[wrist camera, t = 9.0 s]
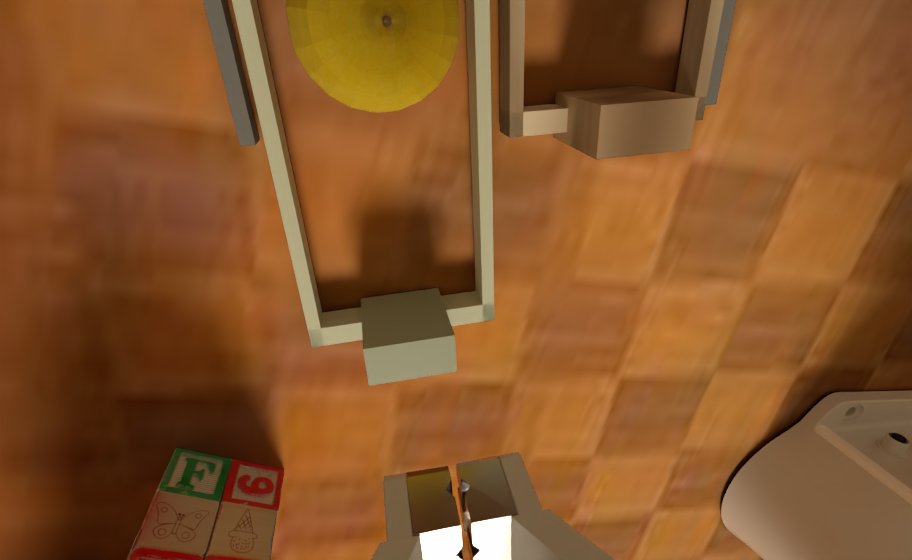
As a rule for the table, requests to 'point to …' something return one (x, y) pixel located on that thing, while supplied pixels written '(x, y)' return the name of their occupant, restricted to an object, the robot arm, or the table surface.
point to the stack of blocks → (210, 510)
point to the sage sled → (403, 314)
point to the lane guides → (240, 97)
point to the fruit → (375, 48)
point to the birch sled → (612, 95)
